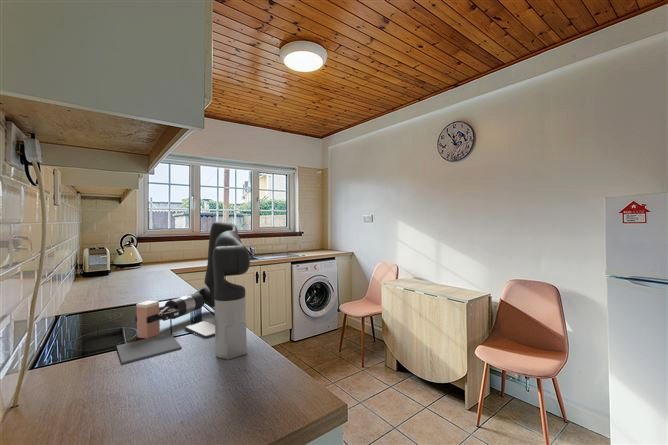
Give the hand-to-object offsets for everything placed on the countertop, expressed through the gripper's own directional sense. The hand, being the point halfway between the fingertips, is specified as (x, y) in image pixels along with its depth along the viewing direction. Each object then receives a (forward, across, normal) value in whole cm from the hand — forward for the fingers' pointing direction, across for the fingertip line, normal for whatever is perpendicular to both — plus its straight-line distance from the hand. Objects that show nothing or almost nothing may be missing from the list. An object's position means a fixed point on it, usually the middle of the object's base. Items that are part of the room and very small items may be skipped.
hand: (141, 319), depth 109 cm
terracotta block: (-3, 0, +6) cm, 7 cm away
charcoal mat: (+6, +10, +6) cm, 13 cm away
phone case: (-13, +16, +7) cm, 22 cm away
